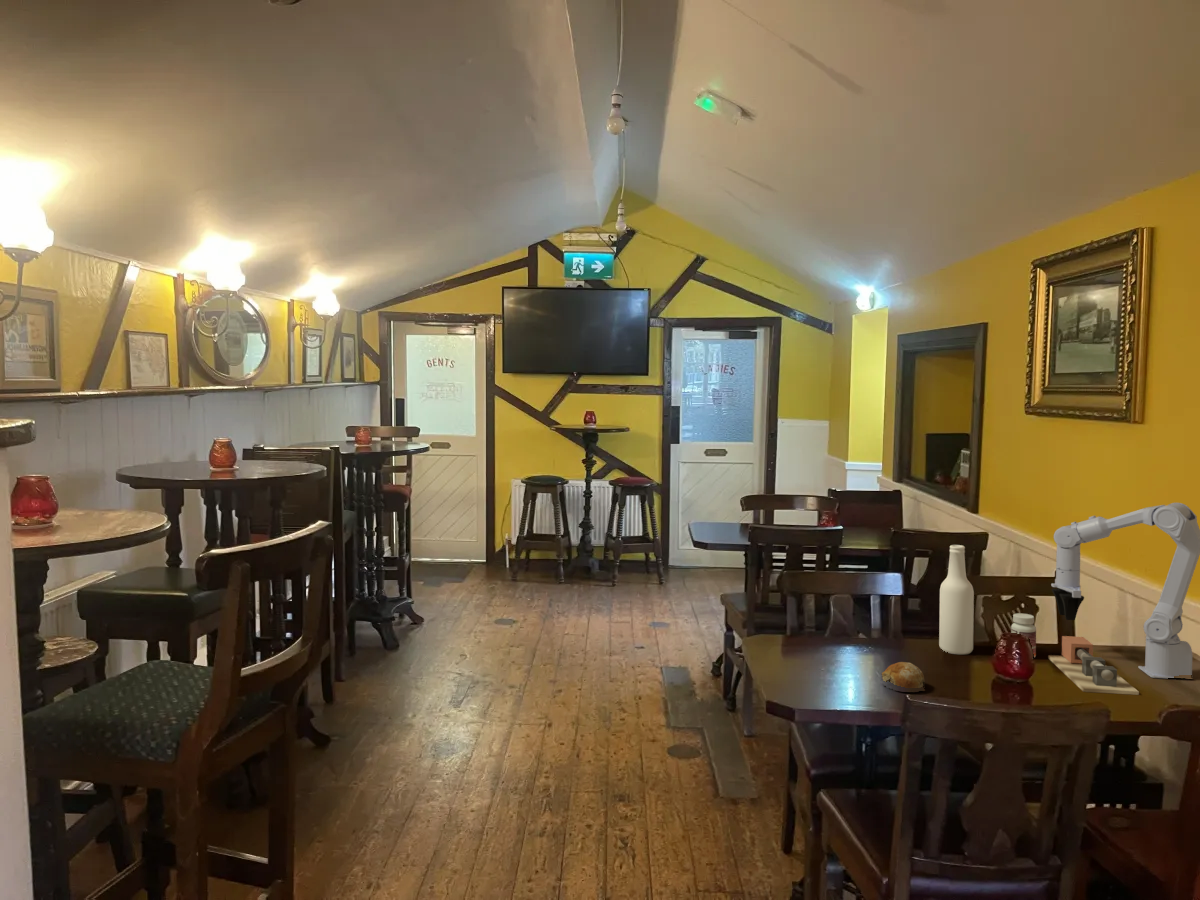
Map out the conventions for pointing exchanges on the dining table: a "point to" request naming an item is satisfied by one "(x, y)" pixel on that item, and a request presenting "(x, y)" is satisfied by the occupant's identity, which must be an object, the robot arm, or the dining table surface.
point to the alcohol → (956, 606)
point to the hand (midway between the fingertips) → (1067, 617)
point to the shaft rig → (1093, 674)
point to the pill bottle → (1025, 628)
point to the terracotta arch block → (1071, 643)
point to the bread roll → (904, 675)
